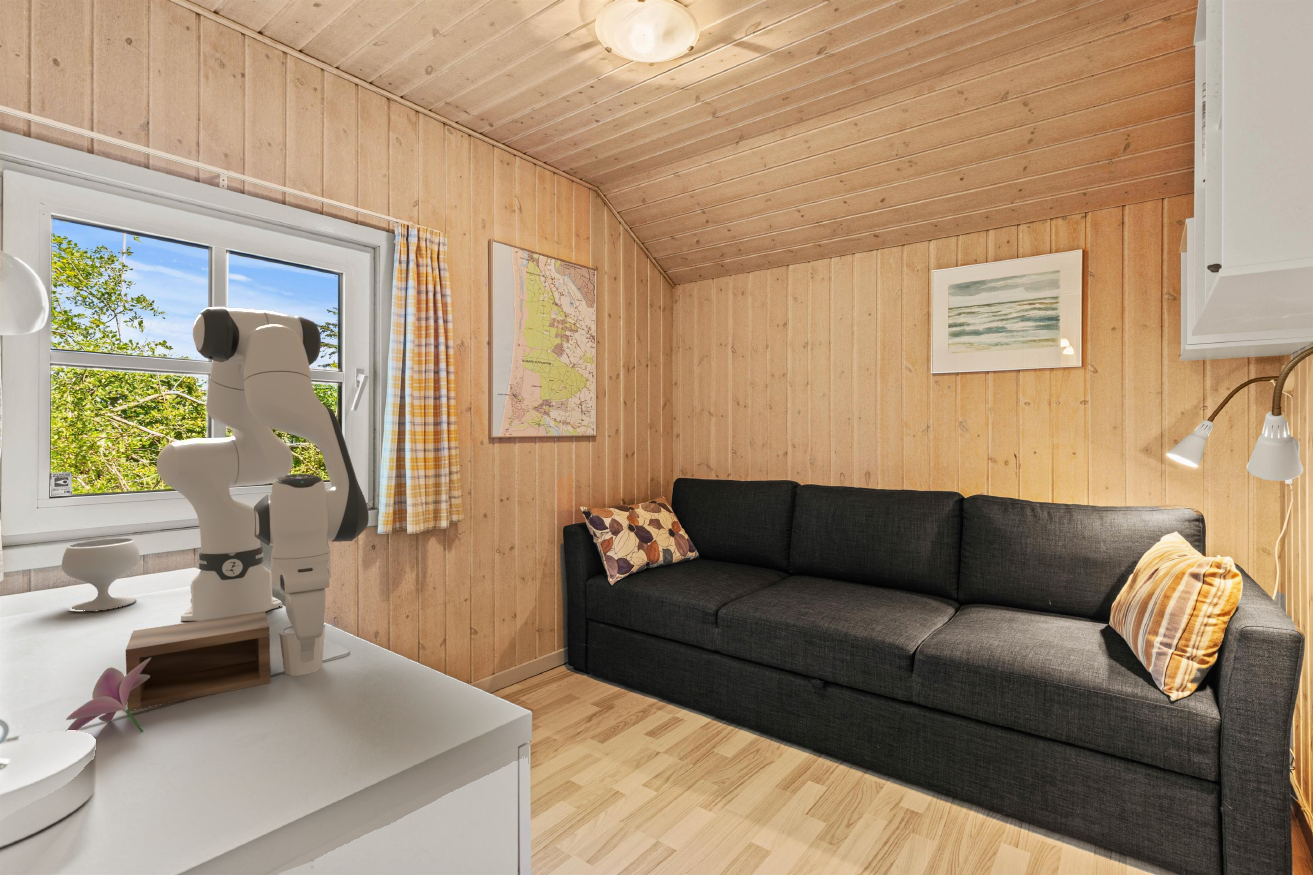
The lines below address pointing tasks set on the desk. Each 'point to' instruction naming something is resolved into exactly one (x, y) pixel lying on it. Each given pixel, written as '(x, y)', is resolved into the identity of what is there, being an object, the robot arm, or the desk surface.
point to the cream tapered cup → (299, 653)
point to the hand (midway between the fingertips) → (304, 652)
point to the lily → (109, 696)
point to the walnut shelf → (199, 658)
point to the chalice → (101, 568)
